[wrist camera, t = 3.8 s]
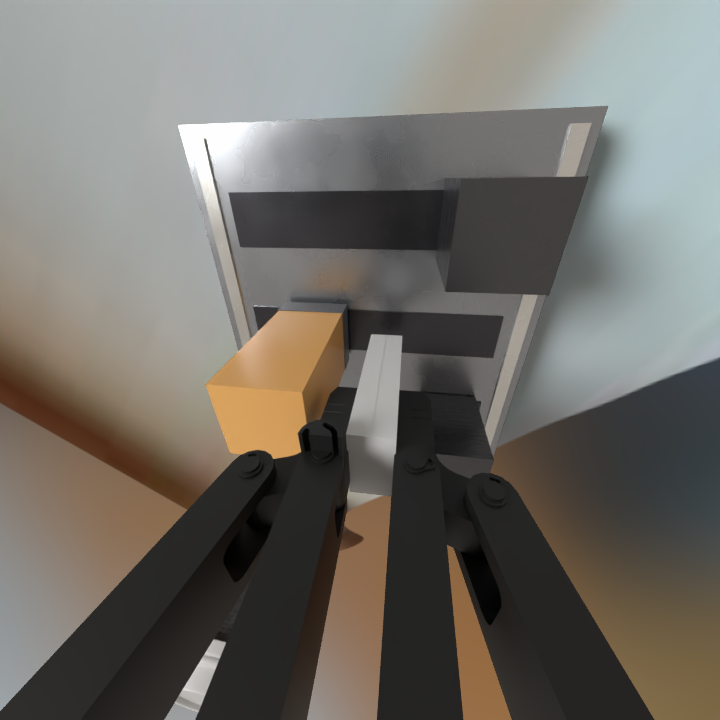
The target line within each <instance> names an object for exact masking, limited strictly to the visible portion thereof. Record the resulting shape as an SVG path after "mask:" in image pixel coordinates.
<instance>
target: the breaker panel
mask: <svg viewBox="0 0 720 720" xmlns="http://www.w3.org/2000/svg"><path fill="white" fill-rule="evenodd" d="M607 109H608V106H596V107H573V108H551V109H529V110H507V111H485V112H463V113H440V114H418V115H396V116H374V117H352V118H329V119H307V120H285V121H263V122H241V123H219V124H196V125H178V126H179V130H180V134H181V137H182V141H183V145H184V149H185V152H186V156H187V160H188V164H189V167H190V171H191V175H192V179H193V182H194V186H195V190H196V194H197V197H198V201H199V205H200V209H201V212H202V216H203V220H204V223H205V227H206V231H207V235H208V238H209V242H210V246H211V250H212V253H213V257H214V261H215V265H216V268H217V272H218V276H219V280H220V283H221V287H222V291H223V295H224V298H225V302H226V306H227V310H228V313H229V317H230V321H231V325H232V328H233V332H234V336H235V340H236V343H237V347H238V351H239V350H240V349H241V348H242V347H243V346H244V345H245V344H246V343H247V342H248V341H249V340H250V339H251V338H252V337H253V336H254V335H255V334H256V333H257V332H258V331H259V330H260V329H261V328H262V327H263V326H264V325H265V324H266V323H267V322H268V321H269V320H270V319H271V318H272V317H273V316H274V315H275V314H276V313H277V312H278V309H279V308H280V307H281V306H282V305H283V304H284V303H285V302H305V303H330V304H347V313H348V338H349V361H348V364H347V367H346V369H345V370H344V373H343V376H342V378H341V381H340V384H339V387H352V388H358V385H359V381H360V377H361V373H362V369H363V365H364V361H365V357H366V353H367V349H368V345H369V341H370V337H371V334H377V335H398V336H402V351H401V369H400V387H399V390H406V391H420V392H425V393H426V395H427V396H428V398H429V399H430V400H431V412H432V422H433V434H434V445H435V453H436V456H437V458H438V459H439V461H440V462H441V463H442V464H443V465H444V466H445V467H446V468H448V469H449V470H451V471H453V472H455V473H457V474H459V475H462V476H465V477H467V478H471V477H472V476H473V475H476V474H479V473H490V470H491V467H492V464H493V461H494V459H493V455H494V452H495V449H496V446H497V443H498V440H499V437H500V434H501V431H502V428H503V425H504V422H505V419H506V416H507V413H508V410H509V407H510V404H511V401H512V398H513V395H514V392H515V389H516V386H517V383H518V379H519V376H520V373H521V370H522V367H523V364H524V361H525V358H526V355H527V352H528V349H529V346H530V343H531V340H532V337H533V334H534V331H535V328H536V325H537V322H538V319H539V316H540V312H541V309H542V306H543V303H544V300H545V297H546V295H549V293H550V290H551V287H552V284H553V281H554V278H555V275H556V272H557V269H558V266H559V263H560V260H561V257H562V254H563V251H564V248H565V245H566V242H567V239H568V236H569V233H570V230H571V227H572V224H573V221H574V218H575V215H576V212H577V209H578V206H579V203H580V200H581V197H582V194H583V191H584V188H585V185H586V182H587V179H588V176H586V172H587V169H588V166H589V163H590V160H591V157H592V154H593V151H594V148H595V145H596V142H597V139H598V136H599V133H600V130H601V127H602V124H603V121H604V118H605V115H606V112H607Z"/></svg>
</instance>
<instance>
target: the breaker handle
mask: <svg viewBox="0 0 720 720" xmlns="http://www.w3.org/2000/svg"><path fill="white" fill-rule="evenodd" d="M348 361H349V338H348V313H347V304H330V303H305V302H285V303H284V304H283V305H282V306H281V307H280V308H279V309H278V312H277V313H276V314H275V315H274V316H273V317H272V318H271V319H270V320H269V321H268V322H267V323H266V324H265V325H264V326H263V327H262V328H261V329H260V330H259V331H258V332H257V333H256V334H255V335H254V336H253V337H252V338H251V339H250V340H249V341H248V342H247V343H246V344H245V345H244V346H243V347H242V348H241V349H240V350H239V351H238V352H237V353H236V354H235V355H234V356H233V357H232V358H231V359H230V360H229V361H228V362H227V363H226V364H225V365H224V366H223V367H222V368H221V369H220V370H219V371H218V372H217V373H216V374H215V375H214V376H213V377H212V379H211V380H210V381H209V382H208V383H207V384H206V387H207V390H208V393H209V396H210V398H211V401H212V404H213V407H214V409H215V412H216V415H217V418H218V421H219V423H220V426H221V429H222V432H223V434H224V437H225V440H226V443H227V446H228V448H229V451H230V453H234V454H244V453H246V452H248V451H253V450H262V451H266V452H268V453H269V454H271V456H272V458H282V457H288V456H292V455H296V454H298V453H300V452H301V448H300V443H299V438H298V432H299V431H300V429H301V428H302V427H303V426H304V425H306V424H307V423H309V422H312V421H315V420H320V419H321V416H322V414H323V412H324V408H325V406H326V404H327V400H328V398H329V395H330V393H331V392H332V391H334V390H335V389H336V388H337V387H339V384H340V381H341V378H342V376H343V373H344V370H345V369H346V367H347V364H348Z"/></svg>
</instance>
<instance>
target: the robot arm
mask: <svg viewBox="0 0 720 720" xmlns="http://www.w3.org/2000/svg"><path fill="white" fill-rule="evenodd" d="M401 351H402V336H398V335H377V334H371V337H370V341H369V345H368V349H367V353H366V357H365V361H364V365H363V369H362V373H361V377H360V381H359V385H358V388H352V387H337V388H336V389H335V390H334V391H332V392H331V393H330V395H329V398H328V400H327V404H326V406H325V408H324V412H323V414H322V416H321V419H320V420H315V421H312V422H309V423H307V424H306V425H304V426H303V427H302V428H301V429H300V431H299V432H298V438H299V443H300V448H301V452H300V453H298V454H296V455H292V456H288V457H282V458H277V459H273V458H272V456H271V454H269V453H268V452H266V451H262V450H253V451H248V452H246V453H244V454H242V455H240V456H239V457H238V458H236V459H235V460H234V461H233V462H232V463H231V464H230V465H229V466H228V467H227V468H226V469H225V471H224V472H223V473H222V474H221V475H220V476H219V477H218V478H217V479H216V480H215V481H214V482H213V483H212V484H211V486H210V487H209V488H208V489H207V490H206V491H205V492H204V493H203V494H202V495H201V496H200V497H199V498H198V500H197V501H196V502H195V503H194V504H193V505H192V506H191V507H190V508H189V509H188V510H187V511H186V513H185V514H184V515H183V516H182V517H181V518H180V519H179V520H178V521H177V522H176V523H175V524H174V525H173V526H172V528H171V529H170V530H169V531H168V532H167V533H166V534H165V535H164V536H163V537H162V538H161V539H160V540H159V541H158V542H157V544H156V545H155V546H154V547H153V548H152V549H151V550H150V551H149V552H148V553H147V554H146V555H145V556H144V558H143V559H142V560H141V561H140V562H139V563H138V564H137V565H136V566H135V567H134V568H133V569H132V571H131V572H130V573H129V574H128V575H127V576H126V577H125V578H124V579H123V580H122V581H121V582H120V583H119V584H118V586H117V587H116V588H115V589H114V590H113V591H112V592H111V593H110V594H109V595H108V596H107V597H106V598H105V599H104V600H103V602H102V603H101V604H100V605H99V606H98V607H97V608H96V609H95V610H94V611H93V612H92V613H91V614H90V616H89V617H88V618H87V619H86V620H85V621H84V622H83V623H82V624H81V625H80V626H79V627H78V628H77V629H76V631H75V632H74V633H73V634H72V635H71V636H70V637H69V638H68V639H67V640H66V641H65V642H64V643H63V645H62V646H61V647H60V648H59V649H58V650H57V651H56V652H55V653H54V654H53V655H52V656H51V657H50V659H49V660H48V661H47V662H46V663H45V664H44V665H43V666H42V667H41V668H40V669H39V670H38V671H37V673H36V674H35V675H34V676H33V677H32V678H31V679H30V680H29V681H28V682H27V683H26V684H25V685H24V686H23V688H22V689H21V690H20V691H19V692H18V693H17V694H16V695H15V696H14V697H13V698H12V699H11V700H10V701H9V703H8V704H7V705H6V706H5V707H4V708H3V709H2V710H1V711H0V720H164V719H165V717H166V716H167V714H168V713H169V711H170V709H171V708H172V706H173V704H174V703H175V701H176V700H177V698H178V696H179V695H180V693H181V691H182V690H183V688H184V687H185V685H186V683H187V682H188V680H189V678H190V677H191V675H192V674H193V672H194V670H195V669H196V667H197V666H198V664H199V662H200V661H201V659H202V657H203V656H204V654H205V653H206V651H207V649H208V648H209V646H210V644H211V643H212V641H213V640H214V638H215V636H216V635H217V633H218V631H219V630H220V628H221V627H222V625H223V623H224V622H225V620H226V619H227V617H228V615H229V614H230V612H231V610H232V609H233V607H234V606H235V604H236V602H237V601H238V599H239V597H240V596H241V594H242V593H243V591H244V589H245V588H246V586H247V584H248V583H249V581H250V580H251V581H250V583H249V586H248V588H247V591H246V593H245V596H244V598H243V601H242V603H241V606H240V608H239V611H238V614H237V616H236V619H235V621H234V624H233V626H232V629H231V631H230V634H229V636H228V639H227V641H226V644H225V646H224V649H223V651H222V654H221V657H220V659H219V662H218V664H217V667H216V669H215V672H214V674H213V677H212V679H211V682H210V684H209V687H208V689H207V692H206V694H205V697H204V700H203V702H202V705H201V707H200V710H199V712H198V715H197V717H196V720H307V715H308V710H309V705H310V700H311V695H312V689H313V684H314V679H315V673H316V668H317V663H318V657H319V652H320V647H321V642H322V636H323V631H324V626H325V621H326V616H327V611H328V605H329V600H330V595H331V589H332V584H333V579H334V574H335V569H336V563H337V558H338V553H339V548H340V543H341V537H342V532H343V527H344V522H345V516H346V511H347V493H348V488H350V491H351V492H359V493H368V494H376V495H384V496H391V511H390V527H389V542H388V558H387V573H386V589H385V604H384V620H383V637H382V651H381V666H380V682H379V697H378V698H379V699H378V713H377V720H463V711H462V700H461V690H460V680H459V669H458V658H457V648H456V637H455V626H454V616H453V605H452V595H451V585H450V573H449V563H448V552H447V545H449V546H451V547H453V548H454V550H455V553H456V556H457V559H458V562H459V565H460V568H461V571H462V574H463V577H464V580H465V583H466V586H467V588H468V591H469V594H470V597H471V600H472V603H473V606H474V609H475V612H476V615H477V618H478V621H479V624H480V627H481V630H482V633H483V635H484V639H485V642H486V645H487V647H488V650H489V653H490V656H491V659H492V662H493V665H494V668H495V671H496V674H497V677H498V680H499V683H500V686H501V689H502V692H503V695H504V697H505V701H506V704H507V707H508V710H509V712H510V715H511V718H512V720H654V718H653V717H652V715H651V714H650V712H649V710H648V708H647V707H646V705H645V703H644V702H643V700H642V699H641V697H640V695H639V694H638V692H637V690H636V689H635V687H634V686H633V684H632V682H631V680H630V679H629V677H628V675H627V674H626V672H625V670H624V669H623V667H622V665H621V664H620V662H619V660H618V659H617V657H616V655H615V654H614V652H613V650H612V649H611V647H610V645H609V644H608V642H607V641H606V639H605V637H604V635H603V634H602V632H601V630H600V629H599V627H598V625H597V624H596V622H595V620H594V619H593V617H592V615H591V614H590V612H589V610H588V609H587V607H586V605H585V604H584V603H583V601H582V599H581V597H580V596H579V594H578V592H577V591H576V589H575V587H574V586H573V584H572V583H571V581H570V579H569V577H568V576H567V574H566V572H565V571H564V569H563V567H562V566H561V564H560V562H559V561H558V559H557V557H556V556H555V554H554V552H553V551H552V549H551V547H550V546H549V544H548V542H547V541H546V539H545V537H544V536H543V534H542V532H541V531H540V529H539V527H538V526H537V524H536V523H535V521H534V519H533V517H532V516H531V514H530V512H529V511H528V509H527V507H526V506H525V504H524V503H523V501H522V499H521V497H520V496H519V494H518V493H517V491H516V490H515V489H514V487H513V486H512V485H511V484H510V483H509V482H508V481H506V480H504V479H503V478H502V477H500V476H497V475H494V474H491V473H479V474H476V475H473V476H472V477H471V478H467V477H465V476H462V475H459V474H457V473H455V472H453V471H451V470H449V469H448V468H446V467H445V466H444V465H443V464H442V463H441V462H440V461H439V459H438V458H437V456H436V453H435V445H434V434H433V422H432V412H431V400H430V399H429V398H428V396H427V395H426V393H425V392H420V391H406V390H399V387H400V369H401Z"/></svg>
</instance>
